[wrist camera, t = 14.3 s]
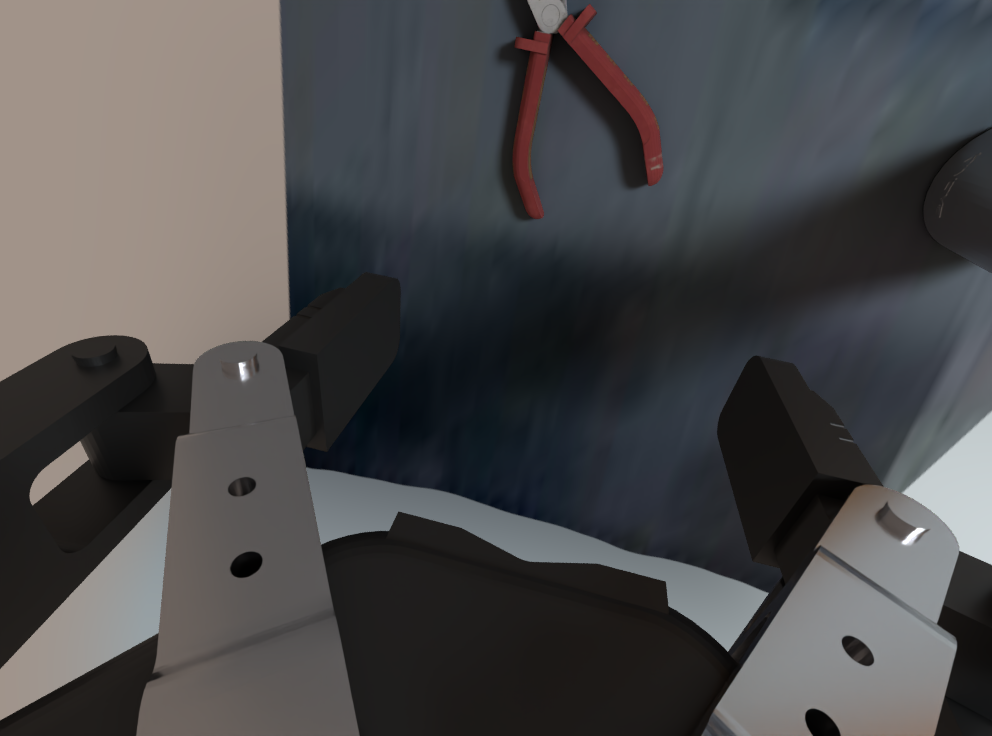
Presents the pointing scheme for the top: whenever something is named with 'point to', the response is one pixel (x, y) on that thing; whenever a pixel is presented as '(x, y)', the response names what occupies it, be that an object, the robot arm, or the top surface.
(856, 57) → the top surface
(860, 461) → the robot arm
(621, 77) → the pliers
